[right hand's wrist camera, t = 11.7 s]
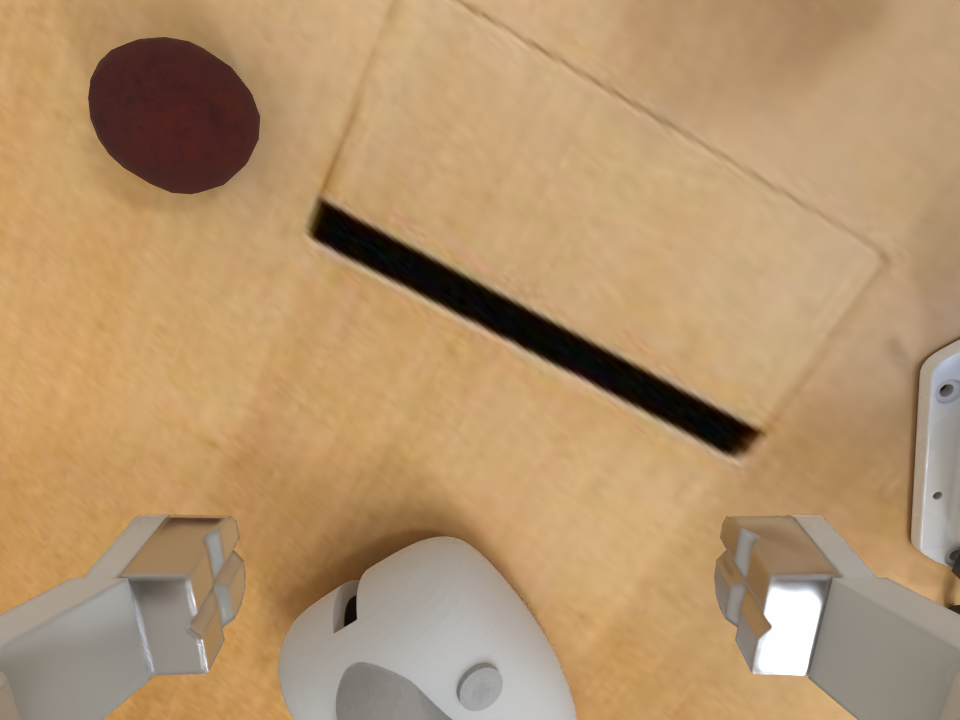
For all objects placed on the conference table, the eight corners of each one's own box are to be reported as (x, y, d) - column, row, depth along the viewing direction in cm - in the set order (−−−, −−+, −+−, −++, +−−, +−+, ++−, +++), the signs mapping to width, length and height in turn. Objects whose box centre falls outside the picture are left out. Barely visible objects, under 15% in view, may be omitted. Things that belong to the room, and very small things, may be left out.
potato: (123, 47, 34) (38, 30, 28) (267, 44, 34) (215, 26, 28) (151, 188, 37) (79, 203, 30) (284, 185, 37) (242, 200, 30)
